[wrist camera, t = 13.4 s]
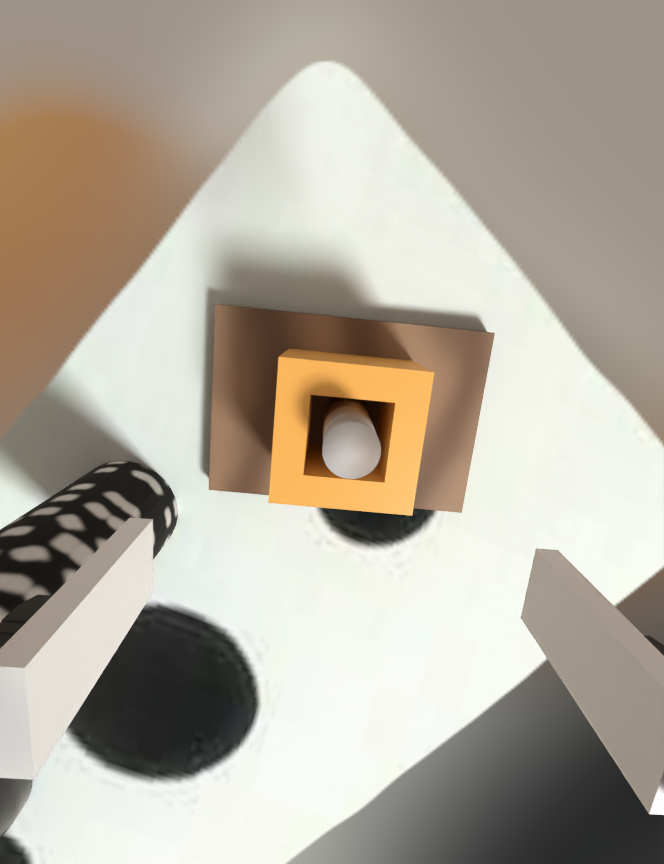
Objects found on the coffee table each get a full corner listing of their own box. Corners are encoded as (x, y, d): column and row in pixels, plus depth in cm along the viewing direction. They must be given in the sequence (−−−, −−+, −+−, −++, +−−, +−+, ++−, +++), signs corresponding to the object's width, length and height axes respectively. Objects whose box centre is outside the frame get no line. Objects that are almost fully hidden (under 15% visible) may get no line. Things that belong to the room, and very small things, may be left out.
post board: (213, 482, 37) (165, 550, 26) (220, 304, 33) (168, 298, 22) (456, 504, 37) (507, 580, 27) (487, 332, 34) (560, 339, 23)
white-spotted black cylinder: (169, 458, 36) (-16, 621, 17) (184, 551, 38) (34, 794, 19) (66, 464, 36) (-238, 633, 17) (87, 556, 38) (-163, 804, 19)
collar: (280, 466, 35) (268, 502, 28) (289, 348, 32) (278, 356, 26) (396, 477, 35) (412, 515, 28) (412, 360, 33) (434, 372, 26)
